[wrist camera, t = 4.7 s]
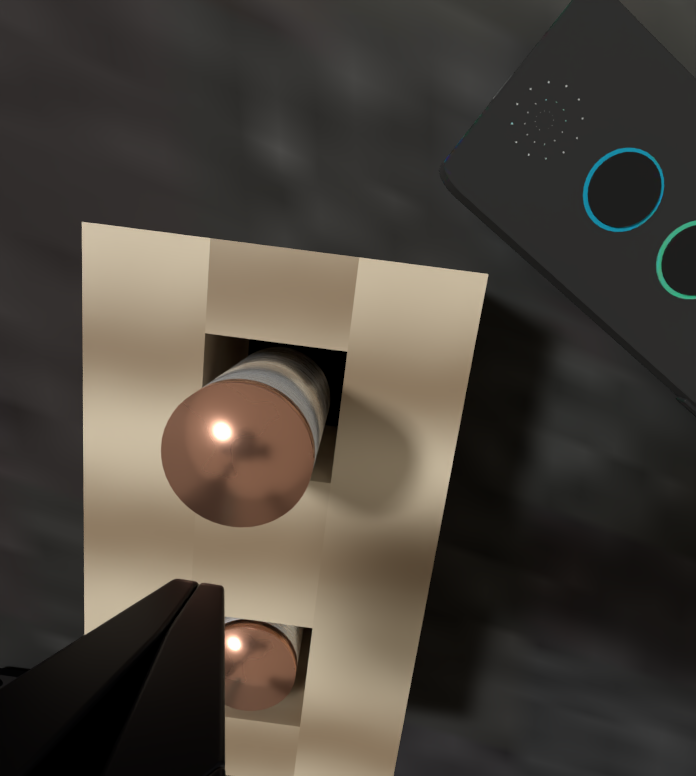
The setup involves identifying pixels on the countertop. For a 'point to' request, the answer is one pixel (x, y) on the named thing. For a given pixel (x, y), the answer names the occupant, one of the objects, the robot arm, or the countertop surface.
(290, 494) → the steel peg
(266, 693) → the steel peg
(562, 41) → the smart home device
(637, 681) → the countertop surface
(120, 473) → the birch block
